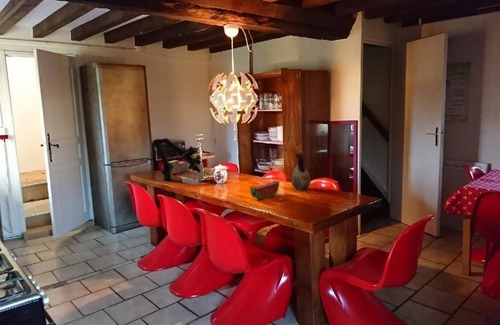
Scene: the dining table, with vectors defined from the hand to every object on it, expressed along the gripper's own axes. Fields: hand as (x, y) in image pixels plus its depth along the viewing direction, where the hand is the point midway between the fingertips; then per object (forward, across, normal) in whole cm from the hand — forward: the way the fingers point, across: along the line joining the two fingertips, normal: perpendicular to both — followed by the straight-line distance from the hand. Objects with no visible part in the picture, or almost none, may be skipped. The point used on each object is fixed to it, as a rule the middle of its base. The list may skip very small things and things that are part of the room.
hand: (201, 171), depth 334 cm
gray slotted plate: (+4, 0, +6) cm, 7 cm away
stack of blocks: (-22, +32, +35) cm, 53 cm away
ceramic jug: (+71, -23, -59) cm, 95 cm away
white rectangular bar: (+2, -11, +11) cm, 15 cm away
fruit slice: (+54, -47, -42) cm, 83 cm away
